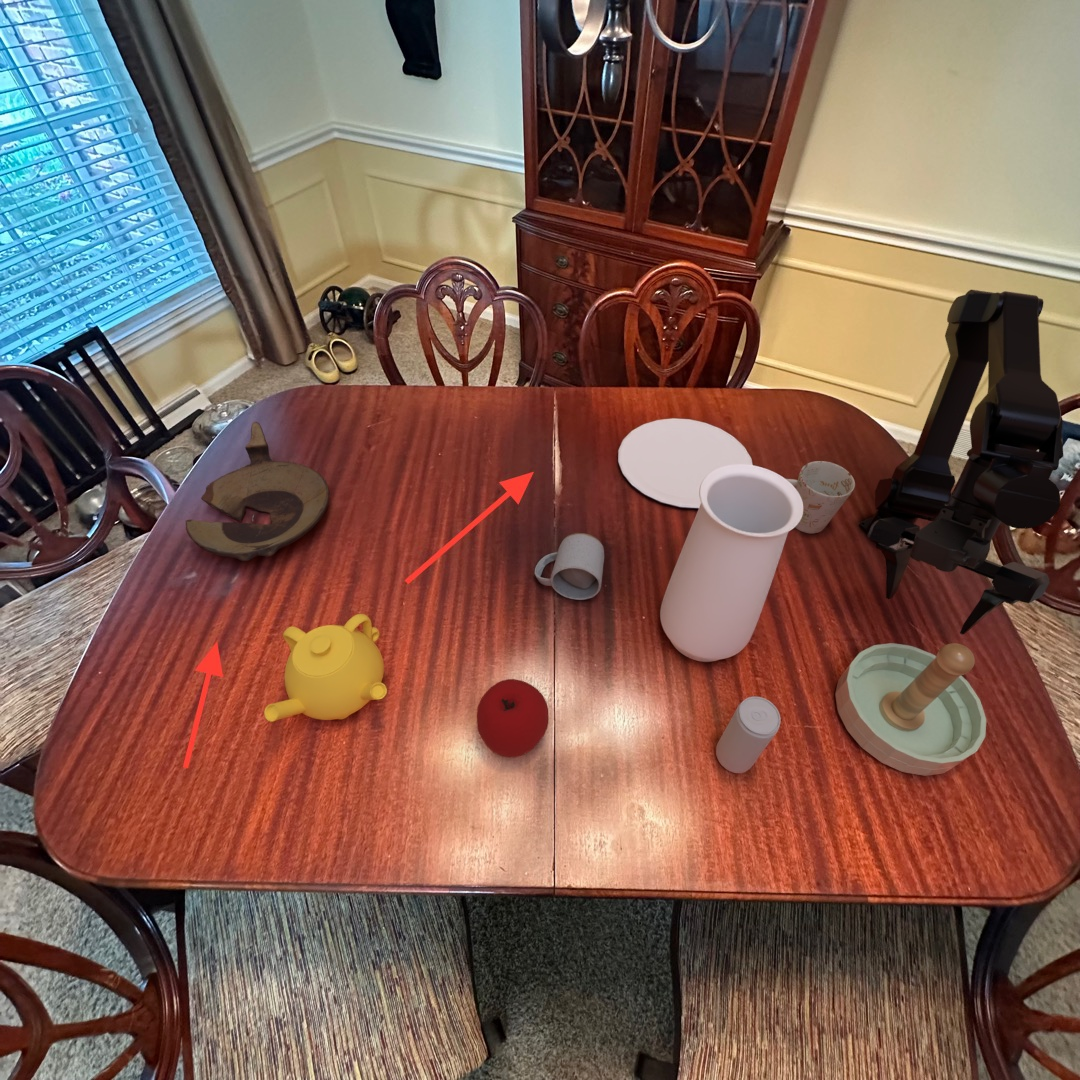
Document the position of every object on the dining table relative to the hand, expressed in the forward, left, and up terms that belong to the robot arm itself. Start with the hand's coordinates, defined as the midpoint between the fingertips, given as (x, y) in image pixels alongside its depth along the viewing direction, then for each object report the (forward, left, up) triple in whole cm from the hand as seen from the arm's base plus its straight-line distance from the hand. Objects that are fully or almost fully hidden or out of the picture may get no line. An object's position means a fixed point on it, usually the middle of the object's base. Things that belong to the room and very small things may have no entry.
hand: (924, 615), depth 78 cm
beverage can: (+29, +2, -11) cm, 31 cm away
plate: (+3, -47, -11) cm, 48 cm away
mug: (-6, -27, -11) cm, 30 cm away
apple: (+53, -13, -11) cm, 55 cm away
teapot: (+72, -28, -11) cm, 78 cm away
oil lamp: (+74, -68, -11) cm, 101 cm away
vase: (+22, -15, -11) cm, 29 cm away
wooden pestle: (+6, +7, -10) cm, 13 cm away
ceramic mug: (+35, -32, -11) cm, 48 cm away
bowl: (+6, +7, -11) cm, 14 cm away
